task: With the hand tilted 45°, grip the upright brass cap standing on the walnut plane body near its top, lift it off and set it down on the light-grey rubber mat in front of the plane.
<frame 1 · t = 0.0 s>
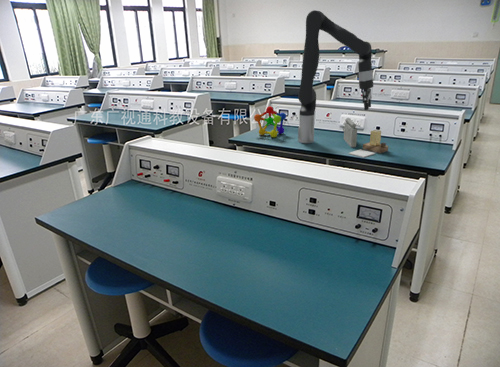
hand: (367, 108, 206), 22 cm above the table, tool pointing down, fingers open, 8 cm apart
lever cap: (374, 145, 205), point 3 cm above the table, touching plane body
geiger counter: (347, 142, 225), on the table
mat: (361, 153, 200), on the table
plane body: (375, 150, 206), on the table
molecular model: (271, 135, 250), on the table
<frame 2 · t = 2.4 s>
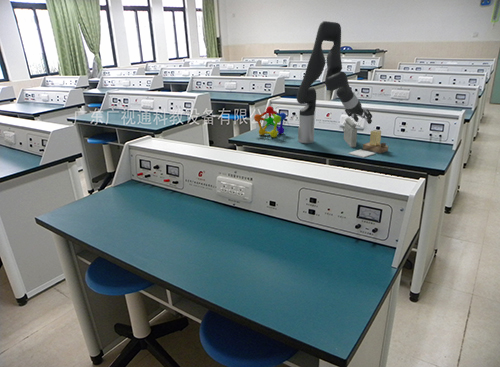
hand: (363, 121, 194), 18 cm above the table, tool tilted 45°, fingers open, 8 cm apart
nothing on the table moved.
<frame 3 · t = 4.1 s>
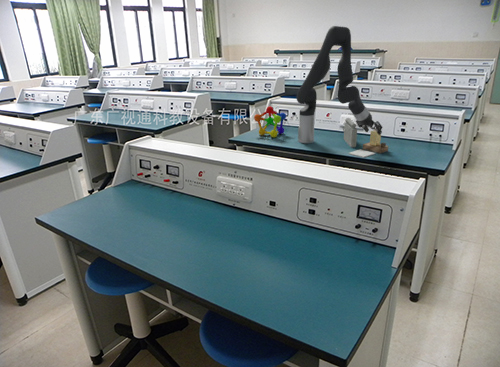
hand: (373, 132, 201), 11 cm above the table, tool tilted 45°, fingers open, 8 cm apart
nothing on the table moved.
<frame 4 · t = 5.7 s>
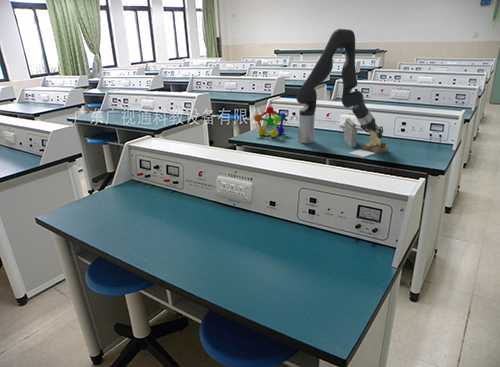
hand: (377, 136, 205), 8 cm above the table, tool tilted 45°, fingers closed on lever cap, 4 cm apart
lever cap: (374, 145, 205), point 3 cm above the table, touching gripper, plane body
everything else where it was.
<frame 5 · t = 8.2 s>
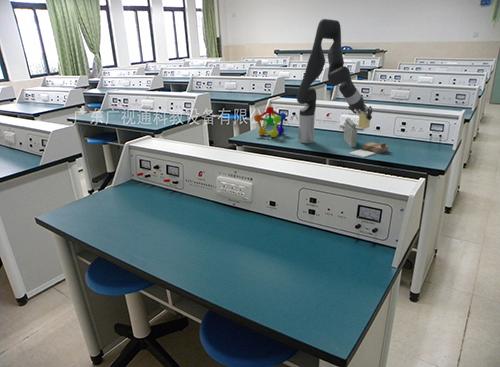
hand: (366, 118, 194), 20 cm above the table, tool tilted 45°, fingers closed on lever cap, 4 cm apart
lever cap: (363, 127, 195), point 15 cm above the table, touching gripper
everything else where it was.
when the fingers open (6 cm above the table, at t = 10.9 s): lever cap drops 1 cm, resting on mat.
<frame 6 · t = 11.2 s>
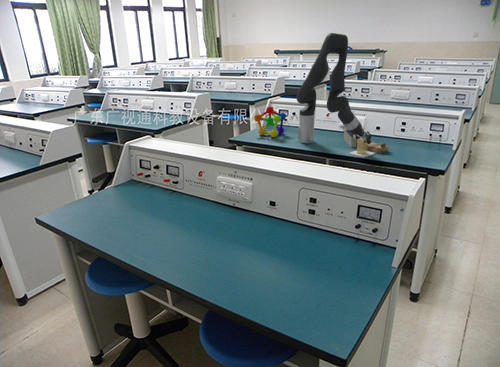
hand: (364, 141, 199), 7 cm above the table, tool tilted 45°, fingers open, 6 cm apart
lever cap: (361, 152, 200), point 1 cm above the table, touching mat
everything else where it was.
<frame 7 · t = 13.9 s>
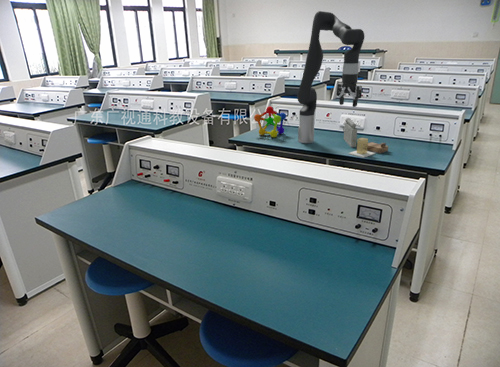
hand: (347, 105, 185), 28 cm above the table, tool pointing down, fingers open, 8 cm apart
nothing on the table moved.
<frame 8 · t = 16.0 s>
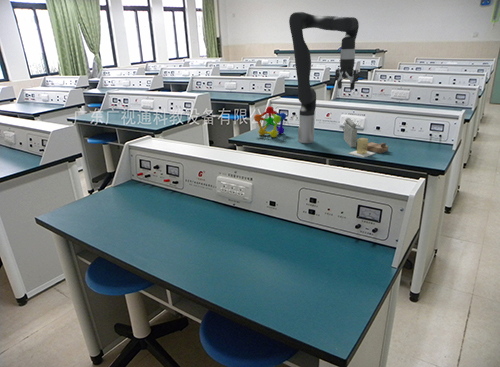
hand: (345, 89, 199), 34 cm above the table, tool pointing down, fingers open, 8 cm apart
nothing on the table moved.
at the end: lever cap inside the target area on the mat (0.1 cm from its centre), point 0.6 cm above the mat's base; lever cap tilted 0°; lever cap touching mat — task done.
